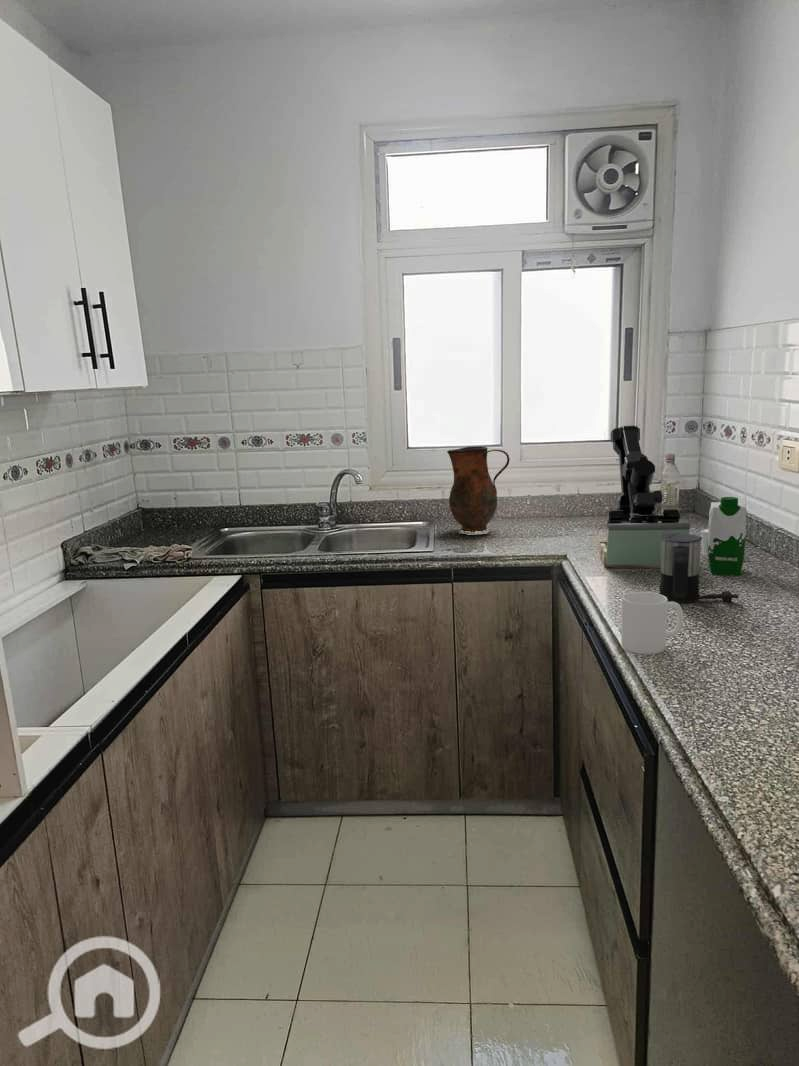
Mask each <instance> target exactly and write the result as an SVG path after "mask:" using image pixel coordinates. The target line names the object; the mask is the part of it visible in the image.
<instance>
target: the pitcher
mask: <svg viewBox="0 0 799 1066" xmlns="http://www.w3.org/2000/svg"><path fill="white" fill-rule="evenodd" d="M491 452H499V453H503V454H504V455H505V456H506V459H507V460H506V462H505V464H504V466H503V467H502V468H501V469H500V470H499V471H498V472H497V473H496V474H495V475H494V478H493V480H492V478H491V475H490V473H489V468H488V453H491ZM446 453H447V454H448V457H449V459H450V462H451V465H452V471H453V485H452V486H451V490H450V492H449V498H448V504H449V510H450V513H451V515H452V516H453V519H454V520H455V521H456V522H457V523H458V524H459V525H460V526H461V529H460V530H463V531H471V532H472V531H473V532H475V531H483V530H486V529H488V528H487V525H488V524H489V523H490V522H491V520H492V519H493V517H495V516H494V515H495V513H496V511H497V507H498V500H499V499H498V492H497V491H498V490H497V488H496V484H495V482H496V480H497V478H498V477H499V476H500V475H501V474H502V473H503V471H504V470H506V469H507V467H508V466H509V464H510V461H511V460H510V456H509V454H508V452H507V451H505V450H503V449H490V450H488V447H486V446H479V445H478V446H476V445H475V446H465V447H461V448H457V449H449V450H447V452H446Z"/></svg>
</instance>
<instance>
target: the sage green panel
mask: <svg viewBox="0 0 799 1066" xmlns="http://www.w3.org/2000/svg"><path fill="white" fill-rule="evenodd" d="M690 530H691V523H690V522H678V523H661V522H658V523H628V524H608V528H607V538H606V541H607V553H606V565H661V544H662V539H661V538H660V536H661V535H664V534H670V533H679V534H681V533H686V534H690Z"/></svg>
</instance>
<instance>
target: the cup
mask: <svg viewBox="0 0 799 1066" xmlns="http://www.w3.org/2000/svg"><path fill="white" fill-rule="evenodd" d="M669 609H674V610H675V611H676V619H677V620H676V625H675V627H674V628H673V629H672V630H667V628H668V626H667V625H668V610H669ZM683 613H684V612H683V609H682V606H681V605H680V604H679V602H672V601H668V599H667V597H665V596H663V595H661V594H659V593H657V592H652V591H651V592H650V591H632V592H628V593H625V594H623V595H622V596H621V639H620V641H621V646H622V647H623V649H624V650H625V651H627V652H628V653H631V654H632V653H633V654H636V655H645V656H646V655H647V656H650V655H657V654H661V653H663V652H664V651H665V649H666V647H667V639H668V638H669V639H670V638H672V637H675V636H677V635H678V634H679V633H680V631H681V630H682V628H683V624H684V614H683Z"/></svg>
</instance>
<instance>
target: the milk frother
mask: <svg viewBox="0 0 799 1066" xmlns="http://www.w3.org/2000/svg"><path fill="white" fill-rule="evenodd" d="M660 538H661V539H662V544H661V568H660V577H659V578H660V580H659V583H660V584H659V593H658V594H661V595H663V596H665V597H667V599H668V601H667V602H676V603H694V602H697V601H699V600H715V599H722V603H732V599H739V594H736V593H733V594H732V592H731V591H729V590H726V591H725V590H724V591H721V593H712V594H706V595H705V594H704V595H700V570H701V569H700V568H701V567H700V566H701V565H700V563H701V548H702V541H701V540H702V537H701V535H697V534H695V533H694V534H693V533H689V534H686V533H681V534H679V533H670V534H664V535H661V536H660Z"/></svg>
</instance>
